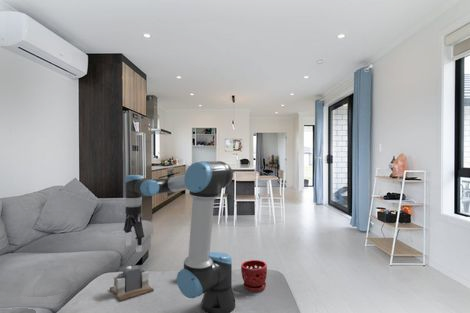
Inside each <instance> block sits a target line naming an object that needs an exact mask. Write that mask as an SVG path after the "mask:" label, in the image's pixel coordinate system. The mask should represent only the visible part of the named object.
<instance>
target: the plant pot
mask: <svg viewBox="0 0 470 313" xmlns="http://www.w3.org/2000/svg"><path fill="white" fill-rule="evenodd" d="M251 267H252V268H251ZM240 271H241V272H240V273H241V277H242V280H243V287H244V288H245V289H246V290H248V291H251V292H259V291H262V290H264V289H265V288H266V287H267V282H266V281H267V272H268V266H267V263H266V262H265V261H263V260H259V259H258V260H257V259H250V260H245V261H244V262H242V263H241V265H240Z"/></svg>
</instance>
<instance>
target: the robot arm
mask: <svg viewBox="0 0 470 313" xmlns="http://www.w3.org/2000/svg"><path fill="white" fill-rule="evenodd" d="M233 177H234V172H233V168H232V167H231V166H230V165H229V164H228V163H226V162H225V161H205V160H204V161H202V160H201V161H196V162H193V163H191V164H190V165H189V166H188V167H187V169H186V170H185V173H184V174H179V175H175V176H171V177H166V178H153V179H152V178H150V179H143V178H142V176H141V175H140V174H128V175H126V176H125V183H124V184H125V186H124V187H125V190H124V191H125V198H124V199H125V200H124V202H125V204H124V205H125V209H124V210H125V222H124V226H123V231H124V233H125V242H124V243H125V247H129V246H132V228H133V229H134V230H133V231H134V233H135V236H136V237H135V252H136V253H141V252H142V251H143V238H145V234H144V227H143V222H142V216H139V215H140V214H141V213H142V200H143V198H142V196H146V197H150V196H151V197H153V196H156V195H159V194H160V195H161V194H168V193H169V194H171V193H174V192H175V193H176V192H180V191H187V190H188V191H189V193H188V194H189V196H190V197H191V198H192V202H191V203H192V205H191V216H190V217H191V218H190V227H189V228H190V230H189V240H188V241H189V243H188V256H187V257H186V258H184V260H183V268H182V269H180V270H179V271H178V272H177V275H176V284H177V288H178V289H179V291H180V292H181V294H182V295H183V296H185V297H186V298H188V299H195V298H198V297H200V296H202V295H203V296H202V299H201V310H202V311H203V312H204V313H231V312H232V311H234V310H235V308H236V299H235V295H234V293H233V292H234V291H233V288H232V282H233V281H232V279H233V278H232V266H233V265H232V264H233V263H232V256H231V255H229V254H228V253H225V252H220V251H211V245H212V244H211V241H212V232H213V231H212V228H213V216H214V206H215V205H214V204H215V200H216V199H217V198H219V192H220V189H224V188H227V187H228V186H229V185H230V184H231V183H232V180H233Z"/></svg>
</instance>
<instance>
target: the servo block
mask: <svg viewBox="0 0 470 313" xmlns="http://www.w3.org/2000/svg"><path fill="white" fill-rule="evenodd" d="M144 269H145V268H141V267H140V266H139V265H137V264H136V265H132V266H131V265H129V266H128V265H127V266H126V267H125V268H122V273H119V274H117V275H118V276H119V277H120V278H122V277H124V278H125V292H129V291H133V290H136V289H139V288H141V272H144V271H145V270H146V269H145V270H144Z"/></svg>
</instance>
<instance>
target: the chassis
mask: <svg viewBox="0 0 470 313" xmlns="http://www.w3.org/2000/svg"><path fill="white" fill-rule="evenodd" d="M143 269H144V270H145V271H144V272H141V288H139V289H136V290H133V291H129V292H125V278H124V277H122V278H120V277H119V276H118V274H117V275H114V276H113V286H109V290H110V292H111V294H112V295H114V297H116V298H117V300H118V301H119V302H125V301H128V300H131V299H134V298H138V297H140V296H143V295H147V294H150V293H153V292H154V288H153V287H152V286H150V285H149V271H148V270H146V269H145V268H143Z"/></svg>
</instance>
